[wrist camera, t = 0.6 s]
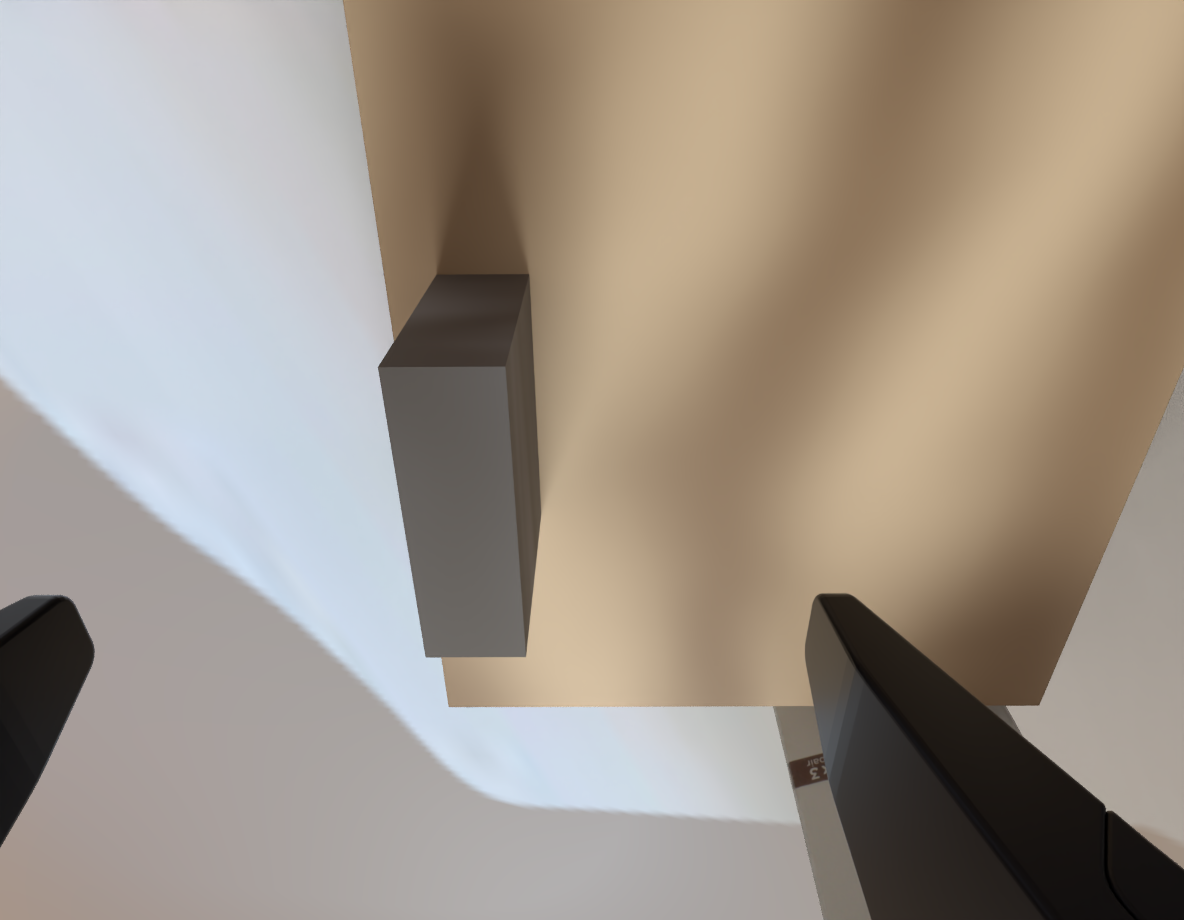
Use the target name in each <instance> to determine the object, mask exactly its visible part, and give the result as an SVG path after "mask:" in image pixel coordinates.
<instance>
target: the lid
mask: <svg viewBox="0 0 1184 920" xmlns="http://www.w3.org/2000/svg"><path fill="white" fill-rule="evenodd" d="M343 4H344V10H345V17H346V24H347V30H348V37H349V44H350V50H351V57H352V64H353V70H354V77H355V84H356V90H357V97H358V104H359V110H360V117H361V124H362V130H363V137H364V144H365V151H366V157H367V164H368V171H369V177H370V184H371V191H372V197H373V204H374V211H375V217H376V224H377V231H378V237H379V244H380V251H381V257H382V264H383V271H384V277H385V284H386V291H387V297H388V304H389V311H390V317H391V324H392V331H393V337H394V343H393V344H392V346H391V348H390V349H389V351H388V352H387V354H386V355H385V357H384V359H383V360H382V362H381V363H380V365H379V367H378V370H379V376H380V382H381V388H382V394H383V400H384V406H385V412H386V419H387V425H388V431H389V437H390V443H391V449H392V455H393V461H394V467H395V473H396V479H397V485H398V492H399V498H400V504H401V510H402V516H403V522H404V528H405V534H406V540H407V546H408V552H409V558H410V565H411V571H412V577H413V583H414V589H415V595H416V601H417V607H418V613H419V619H420V625H421V631H422V638H423V644H424V650H425V656H426V657H441V658H442V665H443V671H444V678H445V685H446V691H447V698H448V705H449V707H651V706H814V705H813V699H812V694H811V689H810V684H809V678H808V673H807V668H806V662H805V641H806V636H807V630H808V625H809V619H810V614H811V608H812V604H813V601H814V598H815V597H816V596H817V595H818V594H821V593H847V594H851V595H853V596H854V597H856V598H857V599H858V600H860V601H861V602H862V603H863V604H864V605H866V606H867V607H868V608H869V609H870V610H872V611H873V612H874V613H875V614H876V615H878V616H879V617H880V618H881V619H882V620H884V621H885V622H886V623H887V624H888V625H890V626H891V627H892V628H893V629H894V630H896V631H897V632H898V633H899V634H900V635H902V636H903V637H904V638H905V639H906V640H908V641H909V642H910V643H911V644H912V645H914V646H915V647H916V648H917V649H918V650H920V651H921V652H922V653H923V654H924V655H926V656H927V657H928V658H929V659H930V660H932V661H933V662H934V663H935V664H936V665H938V666H939V667H940V668H941V669H942V670H944V671H945V672H946V673H947V674H948V675H950V676H951V677H952V678H953V679H954V680H956V681H957V682H958V683H959V684H960V685H962V686H963V687H964V688H965V689H966V690H968V691H969V692H970V693H971V694H972V695H974V696H975V697H976V698H977V699H978V700H980V701H981V702H982V703H983V704H984V705H986V706H1024V705H1039V704H1040V702H1041V700H1042V697H1043V695H1044V693H1045V690H1046V688H1047V686H1048V683H1049V681H1050V679H1051V676H1052V674H1053V672H1054V669H1055V667H1056V664H1057V662H1058V660H1059V657H1060V655H1061V653H1062V650H1063V648H1064V646H1065V643H1066V641H1067V639H1068V636H1069V634H1070V632H1071V629H1072V627H1073V625H1074V622H1075V620H1076V618H1077V615H1078V613H1079V611H1080V608H1081V606H1082V604H1083V601H1084V599H1085V597H1086V594H1087V592H1088V590H1089V587H1090V585H1091V583H1092V580H1093V578H1094V576H1095V573H1096V571H1097V569H1098V566H1099V564H1100V562H1101V559H1102V557H1103V555H1104V552H1105V550H1106V548H1107V545H1108V543H1109V541H1110V538H1111V536H1112V534H1113V531H1114V529H1115V527H1116V524H1117V522H1118V520H1119V517H1120V515H1121V513H1122V510H1123V508H1124V506H1125V503H1126V501H1127V499H1128V496H1129V494H1130V492H1131V489H1132V487H1133V484H1134V482H1135V480H1136V477H1137V475H1138V473H1139V470H1140V468H1141V466H1142V463H1143V461H1144V459H1145V456H1146V454H1147V452H1148V449H1149V447H1150V445H1151V442H1152V440H1153V438H1154V435H1155V433H1156V431H1157V428H1158V426H1159V424H1160V421H1161V419H1162V417H1163V414H1164V412H1165V410H1166V407H1167V405H1168V403H1169V400H1170V398H1171V396H1172V393H1173V391H1174V389H1175V386H1176V384H1177V382H1178V379H1179V377H1180V375H1181V372H1182V370H1183V368H1184V0H343Z"/></svg>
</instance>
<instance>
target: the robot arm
mask: <svg viewBox="0 0 1184 920" xmlns="http://www.w3.org/2000/svg"><path fill="white" fill-rule="evenodd" d="M94 652H95V651H94V644H93V641H92V639H91V637H90V635H89V633H88V631H87V629H86V627H85V625H84V623H83V620H82V618H81V616H80V614H79V612H78V610H77V608H76V606H75V604H74V602H73V601H72V600H71V599H69V598H68V597H66V596H63V595H33V596H28V597H26V598H23V599H21V600H19V601H17V602H15V603H13V604H11V605H9V606H7V607H5V608H3V609H2V610H0V847H1V845H2V844H3V842H4V840H5V839H6V837H7V835H8V834H9V832H10V830H11V828H12V827H13V825H14V823H15V821H16V820H17V818H18V816H19V815H20V813H21V811H22V809H23V808H24V806H25V804H26V803H27V801H28V799H29V797H30V795H31V794H32V792H33V790H34V788H35V786H36V784H37V783H38V781H39V779H40V777H41V774H42V773H43V771H44V768H45V766H46V764H47V762H48V760H49V758H50V756H51V754H52V752H53V749H54V747H55V745H56V743H57V741H58V739H59V736H60V734H61V732H62V730H63V728H64V725H65V723H66V721H67V719H68V717H69V715H70V712H71V710H72V708H73V706H74V703H75V702H76V699H77V697H78V695H79V693H80V691H81V688H82V686H83V684H84V682H85V680H86V678H87V675H88V673H89V671H90V669H91V667H92V664H93V660H94ZM805 662H806V668H807V673H808V678H809V684H810V689H811V694H812V699H813V705H814V710H815V715H816V720H817V725H818V731H819V736H820V741H821V746H822V752H823V757H824V762H825V767H826V771H827V776H828V781H829V785H830V788H831V792H832V795H833V799H834V802H835V806H836V809H837V812H838V815H839V818H840V822H841V825H842V828H843V831H844V834H845V837H846V841H847V844H848V847H849V850H850V853H851V857H852V860H853V863H854V866H855V869H856V873H857V876H858V879H859V882H860V885H861V889H862V892H863V895H864V898H865V901H866V905H867V908H868V911H869V914H870V917H871V920H1184V869H1183V868H1182V867H1181V866H1179V865H1178V864H1177V863H1176V862H1174V861H1173V860H1172V859H1170V858H1169V857H1168V856H1167V855H1166V854H1164V853H1163V852H1162V851H1161V850H1159V849H1158V848H1157V847H1156V846H1154V845H1153V844H1152V843H1151V842H1149V841H1148V840H1147V839H1146V838H1145V837H1143V836H1142V835H1141V834H1140V833H1139V832H1137V831H1136V830H1135V829H1134V828H1133V827H1131V826H1130V825H1129V824H1128V823H1127V822H1125V821H1124V820H1123V819H1122V818H1121V817H1119V816H1118V815H1117V814H1116V813H1115V812H1113V811H1107V812H1106V808H1105V805H1104V804H1103V803H1102V802H1101V801H1100V800H1099V799H1097V798H1096V797H1095V796H1094V795H1093V794H1091V793H1090V792H1089V791H1088V790H1087V789H1085V788H1084V787H1083V786H1082V785H1081V784H1079V783H1078V782H1077V781H1076V780H1075V779H1073V778H1072V777H1071V776H1070V775H1069V774H1067V773H1066V772H1065V771H1064V770H1063V769H1061V768H1060V767H1059V766H1058V765H1056V764H1055V763H1054V762H1053V761H1052V760H1050V759H1049V758H1048V757H1047V756H1046V755H1044V754H1043V753H1042V752H1041V751H1040V750H1038V749H1037V748H1036V747H1035V746H1034V745H1032V744H1031V743H1030V742H1029V741H1028V740H1026V739H1025V738H1024V737H1023V736H1022V735H1020V734H1019V733H1018V732H1017V731H1016V730H1014V729H1013V728H1012V727H1011V726H1010V725H1008V724H1007V723H1006V722H1005V721H1004V720H1002V719H1001V718H1000V717H999V716H998V715H996V714H995V713H994V712H993V711H992V710H990V709H989V708H988V707H987V706H986V705H984V704H983V703H982V702H981V701H980V700H978V699H977V698H976V697H975V696H974V695H972V694H971V693H970V692H969V691H968V690H966V689H965V688H964V687H963V686H962V685H960V684H959V683H958V682H957V681H956V680H954V679H953V678H952V677H951V676H950V675H948V674H947V673H946V672H945V671H944V670H942V669H941V668H940V667H939V666H938V665H936V664H935V663H934V662H933V661H932V660H930V659H929V658H928V657H927V656H926V655H924V654H923V653H922V652H921V651H920V650H918V649H917V648H916V647H915V646H914V645H912V644H911V643H910V642H909V641H908V640H906V639H905V638H904V637H903V636H902V635H900V634H899V633H898V632H897V631H896V630H894V629H893V628H892V627H891V626H890V625H888V624H887V623H886V622H885V621H884V620H882V619H881V618H880V617H879V616H878V615H876V614H875V613H874V612H873V611H872V610H870V609H869V608H868V607H867V606H866V605H864V604H863V603H862V602H861V601H860V600H858V599H857V598H856V597H854V596H853V595H851V594H847V593H821V594H818V595H817V596H816V597H815V598H814V601H813V604H812V608H811V614H810V619H809V625H808V630H807V636H806V641H805Z"/></svg>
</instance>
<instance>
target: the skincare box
mask: <svg viewBox="0 0 1184 920" xmlns="http://www.w3.org/2000/svg"><path fill="white" fill-rule="evenodd" d="M987 707H988V708H989V709H990V710H992V711H993V712H994V713H995V714H996V715H998V716H999V717H1000V718H1001V719H1002V720H1004V721H1005V722H1006V723H1007V724H1008V725H1010V726H1011V727H1012V728H1013V729H1014V730H1016V731H1017V732H1018V733H1019V734H1020V735H1022V734H1021V732H1020V730H1019V729H1018V727H1017V725H1016V723H1015V721H1014V720H1013V718H1012V716H1011V714H1010V712H1009V711H1008V709H1007V707H1006V706H987ZM773 708H774V712H775V716H776V721H777V725H778V729H779V734H780V738H781V742H782V746H783V750H784V754H785V758H786V763H787V767H788V772H789V776H790V780H791V785H792V789H793V793H794V797H795V801H796V805H797V809H798V813H799V817H800V822H801V826H802V830H803V834H804V839H805V843H806V847H807V851H808V856H809V860H810V864H811V868H812V872H813V877H814V881H815V885H816V889H817V893H818V897H819V901H820V906H821V911H822V915H823V920H871V917H870V914H869V911H868V908H867V905H866V901H865V898H864V895H863V892H862V889H861V885H860V882H859V879H858V876H857V873H856V869H855V866H854V863H853V860H852V857H851V853H850V850H849V847H848V844H847V841H846V837H845V834H844V831H843V828H842V825H841V822H840V818H839V815H838V812H837V809H836V806H835V802H834V799H833V795H832V792H831V788H830V785H829V781H828V776H827V771H826V767H825V762H824V757H823V752H822V746H821V741H820V736H819V731H818V725H817V720H816V715H815V710H814V706H773Z"/></svg>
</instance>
